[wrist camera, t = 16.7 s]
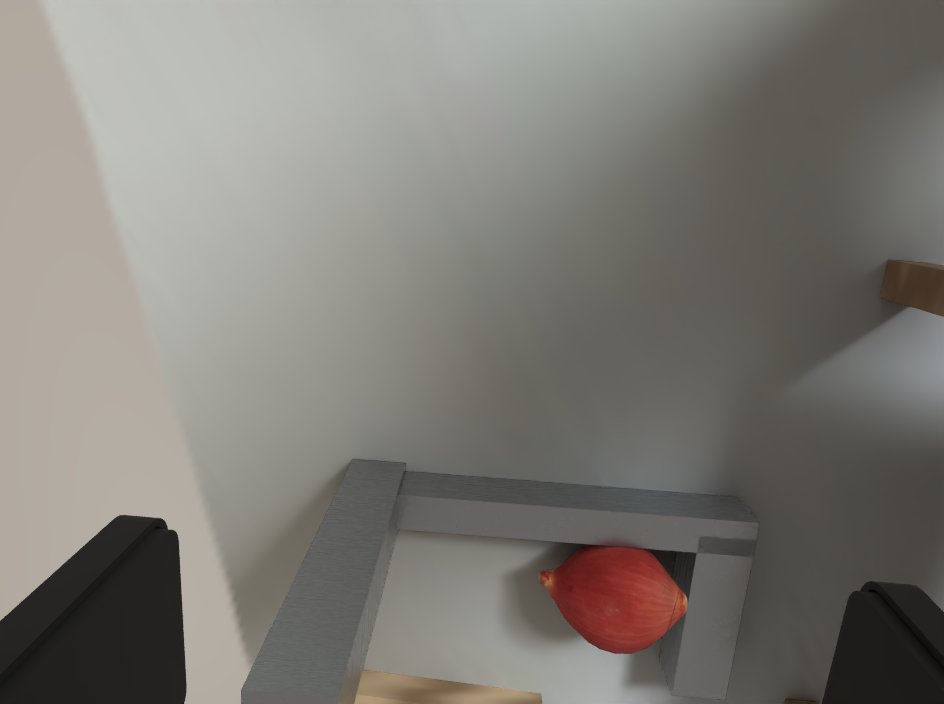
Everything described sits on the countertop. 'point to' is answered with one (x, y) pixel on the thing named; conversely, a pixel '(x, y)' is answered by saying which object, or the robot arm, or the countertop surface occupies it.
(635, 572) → the onion
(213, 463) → the countertop surface
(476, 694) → the wooden bar
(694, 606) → the grey angled piece
